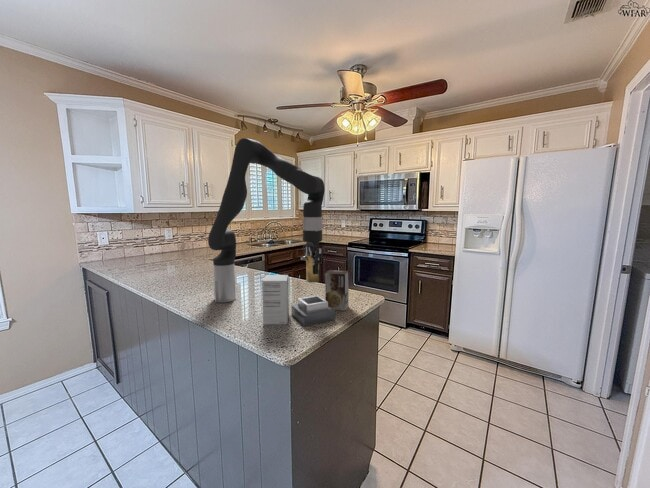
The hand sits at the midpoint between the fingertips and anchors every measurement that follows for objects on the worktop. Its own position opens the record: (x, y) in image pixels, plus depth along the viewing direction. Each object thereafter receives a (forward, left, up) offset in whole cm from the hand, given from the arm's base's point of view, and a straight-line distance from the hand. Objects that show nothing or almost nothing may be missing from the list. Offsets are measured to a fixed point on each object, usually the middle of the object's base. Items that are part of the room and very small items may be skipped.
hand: (312, 272), depth 106 cm
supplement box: (-14, +4, -18) cm, 23 cm away
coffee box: (+14, +5, -18) cm, 24 cm away
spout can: (-1, 0, -3) cm, 4 cm away
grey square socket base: (0, 0, -18) cm, 18 cm away
